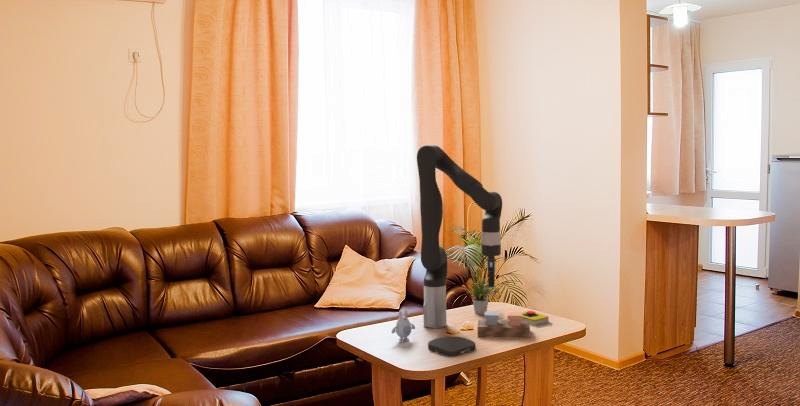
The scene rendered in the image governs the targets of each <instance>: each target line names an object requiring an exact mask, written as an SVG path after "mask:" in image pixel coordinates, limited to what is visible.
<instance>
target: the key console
mask: <svg viewBox="0 0 800 406" xmlns="http://www.w3.org/2000/svg"><path fill="white" fill-rule="evenodd" d="M497 322H498V325H486V319H478V321H477V338H506V339H507V338H510V339H511V338H512V339H531V328H530V327H531V325H529V321H521V326H509V320H508V319H503V320H502V319H497Z"/></svg>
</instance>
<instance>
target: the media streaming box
mask: <svg viewBox="0 0 800 406" xmlns="http://www.w3.org/2000/svg"><path fill="white" fill-rule="evenodd" d="M427 346H428V347H427V348H428V351H430V352H433V353H436V354H438V355H441V356H444V357H448V358H449V357H453V358H454V357H459V356H462V355H465V354H469V353H471V352H474V351H476V348H477V347H476V342H474V341H473V340H471V339H469V338H466V337H462V336H441V337H437V338H435V339H432V340H430V341H429V342H428V343H427Z"/></svg>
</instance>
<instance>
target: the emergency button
mask: <svg viewBox="0 0 800 406" xmlns="http://www.w3.org/2000/svg"><path fill="white" fill-rule="evenodd" d="M521 312H522V311H521ZM521 321H529V326H530V327H531V326H532V327H535V328H542V327H545V326H546V327H547V326H551V325H553V324H554V323H553V322H550V321H549V316H548V315H545V314H543V313H539V312H536V311H533V310H526V311H523V312H522V320H521Z"/></svg>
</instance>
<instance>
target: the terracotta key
mask: <svg viewBox="0 0 800 406" xmlns="http://www.w3.org/2000/svg"><path fill="white" fill-rule="evenodd" d="M507 320H509V326H521V320H522V311H507Z"/></svg>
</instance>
